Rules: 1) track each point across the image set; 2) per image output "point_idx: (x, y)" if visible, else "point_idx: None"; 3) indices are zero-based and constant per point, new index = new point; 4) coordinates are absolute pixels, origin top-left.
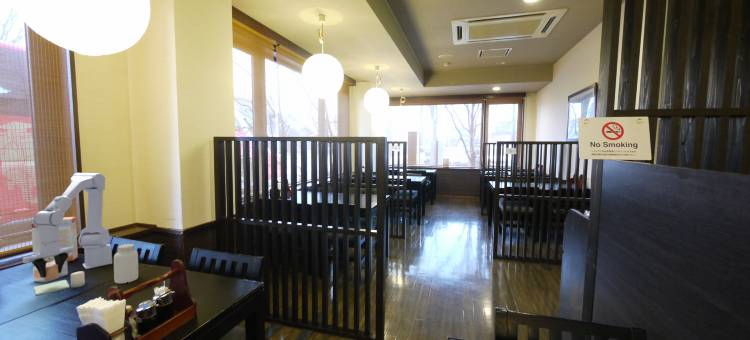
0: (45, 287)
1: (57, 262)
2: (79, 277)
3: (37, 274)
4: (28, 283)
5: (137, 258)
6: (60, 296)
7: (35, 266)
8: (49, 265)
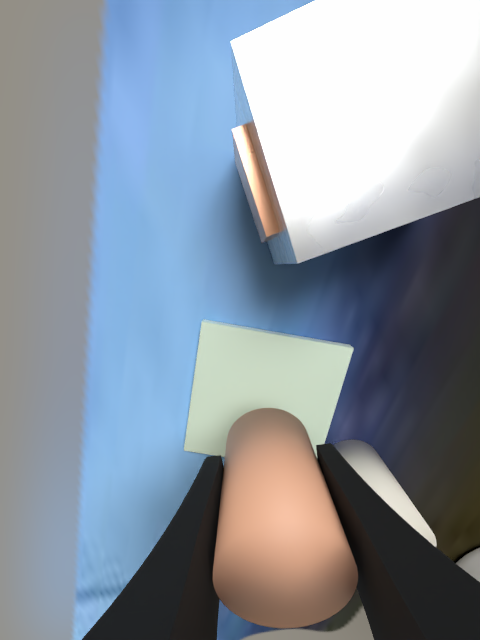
0: (239, 388)
1: (378, 606)
2: None
3: (248, 194)
4: (205, 175)
5: None
6: None
7: (125, 597)
8: (287, 544)
